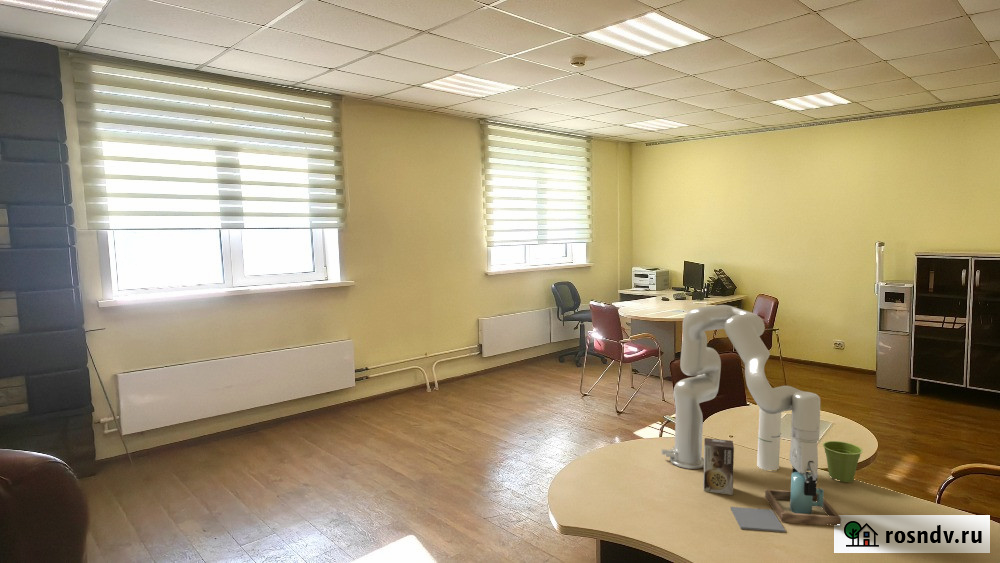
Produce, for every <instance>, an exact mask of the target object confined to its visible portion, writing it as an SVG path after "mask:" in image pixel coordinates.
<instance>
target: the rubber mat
mask: <svg viewBox="0 0 1000 563" xmlns="http://www.w3.org/2000/svg"><path fill="white" fill-rule="evenodd" d="M730 510H731V513H732V514H733V516H734V518H735V520H736V522H737V525H738V526H739V528H740V529H741V530H747V531H748V530H749V531H762V532H775V533H776V532H777V533H786V529H785V528H784V526H783V524H782V522H780V521H781V520H780V519H779V517H778V516H776V515H777V514H776V513H775V511H774V510H773V509H768V508H767V509H764V508H756V507H755V508H751V507H738V506H730Z"/></svg>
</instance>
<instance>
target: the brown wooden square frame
mask: <svg viewBox="0 0 1000 563" xmlns="http://www.w3.org/2000/svg"><path fill="white" fill-rule="evenodd" d="M790 494H791V490H786V489H785V490H783V489H773V488H772V489H769V488H768V489H767V488H765V489H764V498H766V500H767V501H768V503H769V505H770V507H771V508H772V510H773V512H774V513H775V515H777V518H778V519H779V521H781V523H789V524H790V523H792V524H803V525H804V524H805V525H817V526H819V525H820V526H830V524H831V525H837V524H842V518H841V517H840V515H839V514H838V513H837V512H836V510H834V509H833V507H832V506H831V505H830V504H829V503H828V501H827V500H826V499H825V498H824V497H823V507H822V508H823V509H822V508H821V509H822V510H823V512H824V513H825V512H826V513H827V514H828V515H829V516H828V515H827V514H826V513H825V514H813V513H812V514H800V513H794V512H786V511H784V509H783V508H782V507H781V505H780V504H779V502H778V501H777V500H788V499H789V501H790ZM817 498H818V493H816V496H813V501H817ZM827 524H828V525H827Z"/></svg>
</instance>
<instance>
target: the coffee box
mask: <svg viewBox="0 0 1000 563" xmlns="http://www.w3.org/2000/svg"><path fill="white" fill-rule="evenodd" d="M703 442H704V444H703V446H704V447H703V450H704V451H703V458H704V467H703V483H702V485H703V492H705V493H706V492H707V493H714V494H723V495H730V496H731V495H732V496H733V495H734V466H735V465H734V464H735V463H734V461H735V460H734V456H735V453H734V452H735V446H734V441H733V440H727V439H719V438H710V437H709V438H707V437H706V438H704V441H703Z"/></svg>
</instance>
